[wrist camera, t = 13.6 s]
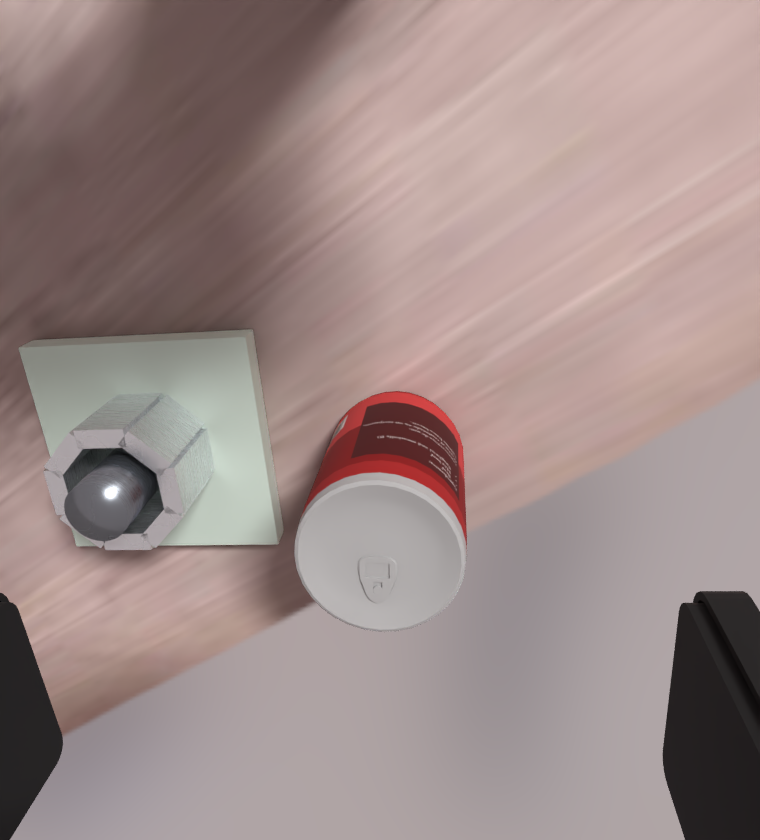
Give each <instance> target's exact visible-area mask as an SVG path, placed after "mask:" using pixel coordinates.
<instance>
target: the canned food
mask: <svg viewBox="0 0 760 840" xmlns="http://www.w3.org/2000/svg"><path fill="white" fill-rule="evenodd" d="M466 546H467V534H466V508H465V483H464V458H463V446H462V443H461V439H460V435H459V433H458V432H457V430H456V428H455V426H454V424H453V423H452V421H451V420H450V419H449V418H448V416H447V415H446V414H445V413H444V412H443V411H442V410H441V409H440V408H439V407H437V406H436V405H435V404H434V403H433V402H431V401H429V400H427V399H425V398H424V397H421V396H418V395H415V394H412V393H408V392H400V391H394V392H384V393H380V394H377V395H373V396H371V397H369V398H367V399H365V400H363V401H361V402H359V403H358V404H356V405H355V406H354V407H352V408H351V409H350V410H349V411H348V412H347V413H346V414H345V415H344V417H343V418H342V419H341V420H340V422H339V424H338V426H337V428H336V430H335V432H334V434H333V437H332V439H331V442H330V444H329V447H328V449H327V452H326V454H325V457H324V459H323V462H322V464H321V467H320V469H319V472H318V474H317V477H316V479H315V482H314V484H313V487H312V489H311V492H310V494H309V497H308V499H307V502H306V504H305V507H304V510H303V513H302V516H301V518H300V521H299V525H298V529H297V532H296V539H295V551H294V556H295V562H296V568H297V571H298V574H299V576H300V579H301V581H302V584H303V585H304V587H305V588H306V590H307V591H308V593H309V595H310V596H311V597H312V598H313V599H314V600H315V601H316V603H317V604H318V605H319V606H320V607H321V608H322V609H324V610H325V611H327V612H328V613H329V614H331V615H332V616H333V617H335V618H337V619H339V620H341V621H343V622H345V623H347V624H349V625H352V626H355V627H358V628H362V629H366V630H373V631H399V630H404V629H409V628H413V627H415V626H418V625H421V624H423V623H425V622H427V621H429V620H430V619H432V618H434V617H435V616H437V615H438V614H439V613H441V612H442V611H443V610H444V609H445V608H446V607H447V606H448V605H449V604H450V603H451V601H452V600H453V598H454V597H455V595H456V594H457V593H458V590H459V587H460V585H461V583H462V580H463V577H464V571H465V564H466V559H467V551H466V549H467V547H466Z"/></svg>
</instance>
